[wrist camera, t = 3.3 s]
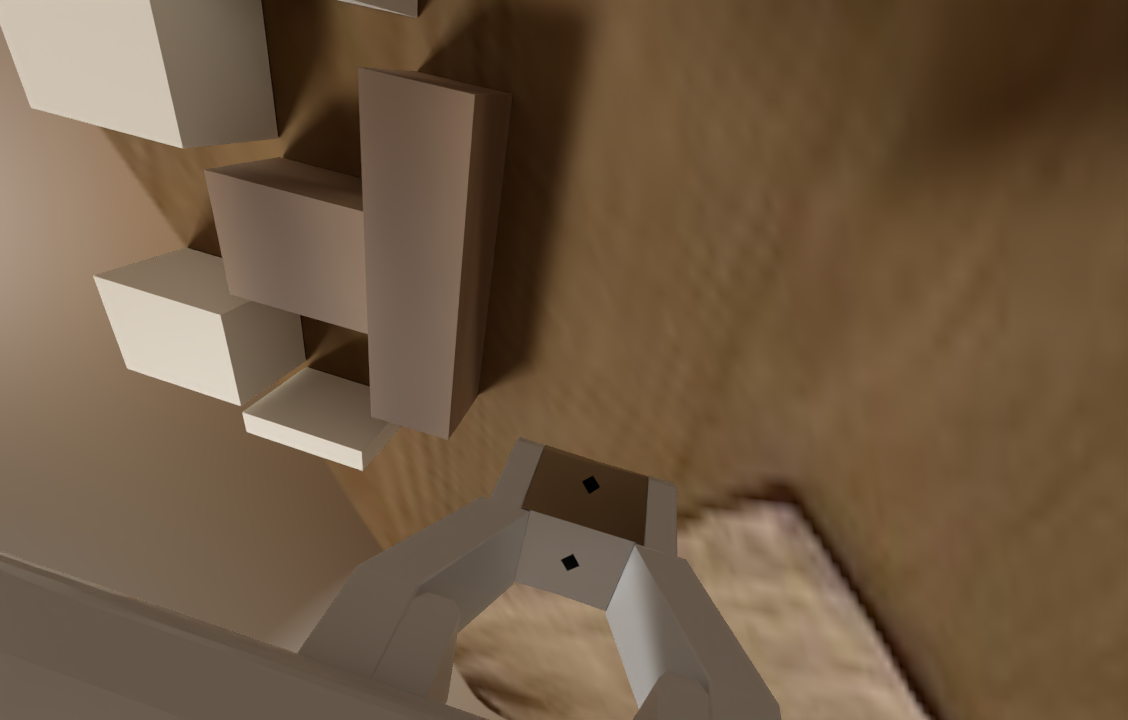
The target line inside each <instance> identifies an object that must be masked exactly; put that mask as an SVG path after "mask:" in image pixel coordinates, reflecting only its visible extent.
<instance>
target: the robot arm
mask: <svg viewBox="0 0 1128 720" xmlns="http://www.w3.org/2000/svg"><path fill="white" fill-rule="evenodd" d="M513 581H514V582H517V583H521V584H524V585H527V586H531V587H534V588H538V589H541V590H545V591H548V592H552V593H555V594H559V595H561V596H564V597H567V598H570V599H573V600H576V601H579V602H581V603H584V604H587V605H590V606H593V607H596V608H598V609H601V610H604V611H606V613H605V614H606V617H607V620H608V623H609V625H610V628H611V631H612V634H613V637H614V640H615V642H616V645H617V648H618V651H619V654H620V657H621V659H622V662H623V665H624V668H625V671H626V674H627V676H628V679H629V682H630V685H631V688H632V691H633V694H634V696H635V699H636V702H637V705H638V708H639V711H638V712H637V714H636V715H635V717H634V719H633V720H781V714H780V708H779V704H778V703H777V701H776V700H775V698H774V696H773V695H772V693H771V692H770V690H769V689H768V687H767V686H766V684H765V682H764V681H763V679H762V678H761V676H760V675H759V673H758V671H757V670H756V668H755V667H754V665H753V664H752V662H751V661H750V659H749V657H748V656H747V654H746V653H745V651H744V650H743V648H742V647H741V645H740V643H739V642H738V640H737V639H736V637H735V636H734V634H733V632H732V631H731V629H730V628H729V626H728V625H727V623H726V622H725V620H724V618H723V617H722V615H721V614H720V612H719V611H718V609H717V607H716V606H715V604H714V603H713V601H712V600H711V598H710V597H709V595H708V593H707V592H706V590H705V589H704V587H703V586H702V584H701V583H700V581H699V579H698V578H697V576H696V575H695V573H694V572H693V570H692V568H691V567H690V565H689V564H688V562H687V561H686V560H685V559H682V558H679V557H677V503H676V486H675V484H674V483H673V482H670V481H666V480H662V479H659V478H655V477H652V476H646V475H643V474H639V473H636V472H632V471H629V470H625V469H622V468H618V467H615V466H611V465H608V464H605V463H601V462H598V461H594V460H591V459H588V458H585V457H582V456H579V455H576V454H572V453H569V452H566V451H563V450H560V449H557V448H554V447H551V446H548V445H546V446H545V445H543V444H540V443H537V442H533V441H530V440H527V439H524V438H521V437H520V438H519V439H518V440H517V441H516V443H515V445H514V447H513V449H512V451H511V454H510V456H509V458H508V460H507V462H506V464H505V466H504V469H503V471H502V473H501V475H500V477H499V479H498V481H497V484H496V486H495V488H494V490H493V492H492V494H491V497H490V499H488V498H485V497H480V498H478V499H476V500H474V501H473V502H471V503H469V504H467V505H466V506H464V507H462V508H460V509H458V510H457V511H455V512H453V513H451V514H449V515H448V516H446V517H444V518H442V519H440V520H439V521H437V522H435V523H433V524H431V525H430V526H428V527H426V528H424V529H422V530H421V531H419V532H417V533H415V534H414V535H412V536H410V537H408V538H406V539H405V540H403V541H401V542H399V543H397V544H396V545H394V546H392V547H390V548H388V549H387V550H385V551H383V552H381V553H380V554H378V555H376V556H374V557H372V558H370V559H369V560H367V561H365V562H363V563H362V564H360V565H358V566H357V567H356V569H355V570H354V571H353V573H352V574H351V576H350V577H349V579H348V580H347V582H346V583H345V585H344V586H343V587H342V589H341V590H340V592H339V593H338V595H337V596H336V598H335V599H334V601H333V602H332V603H331V605H330V606H329V608H328V609H327V611H326V612H325V614H324V615H323V617H322V618H321V619H320V621H319V622H318V624H317V625H316V627H315V628H314V630H313V631H312V632H311V634H310V636H309V637H308V638H307V640H306V641H305V643H304V644H303V646H302V647H301V649H300V650H299V652H298V653H295V652H292V651H289V650H286V649H283V648H280V647H277V646H275V645H272V644H269V643H265V642H263V641H260V640H257V639H254V638H251V637H248V636H245V635H242V634H240V633H236V632H234V631H231V630H228V629H225V628H222V627H219V626H217V625H214V624H211V623H208V622H205V621H202V620H199V619H196V618H194V617H190V616H188V615H185V614H182V613H179V612H176V611H173V610H170V609H167V608H164V607H162V606H159V605H156V604H153V603H150V602H147V601H144V600H141V599H138V598H135V597H133V596H130V595H127V594H124V593H121V592H118V591H115V590H112V589H110V588H107V587H104V586H101V585H98V584H95V583H92V582H89V581H86V580H84V579H81V578H78V577H75V576H72V575H69V574H66V573H63V572H60V571H58V570H55V569H52V568H49V567H46V566H43V565H40V564H37V563H34V562H31V561H28V560H26V559H22V558H20V557H17V556H14V555H11V554H8V553H5V552H2V551H0V720H489V719H486V718H483V717H480V716H477V715H474V714H471V713H468V712H465V711H462V710H460V709H456V708H454V707H450V706H448V705H445V704H446V702H447V699H448V693H449V687H450V680H451V673H452V667H453V660H454V654H455V647H456V641H457V634H458V632H460V631H461V630H462V629H463V628H464V627H465V626H466V625H467V624H469V623H470V622H471V621H472V620H473V619H474V618H475V617H477V616H478V615H479V614H480V613H481V612H482V611H483V610H484V609H486V608H487V607H488V606H489V605H490V604H491V603H492V602H493V601H495V600H496V599H497V598H498V597H499V596H500V595H501V594H502V593H504V592H505V591H506V590H507V589H508V588H509V587H510V586H511V585H513Z"/></svg>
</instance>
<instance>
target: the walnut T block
mask: <svg viewBox="0 0 1128 720" xmlns="http://www.w3.org/2000/svg"><path fill="white" fill-rule="evenodd" d="M358 90H359V116H360V142H361V168H362V178H358V177H354V176H350V175H346V174H342V173H339V172H335V171H331V170H327V169H323V168H319V167H315V166H311V165H308V164H304V163H300V162H296V161H292V160H288V159H284V158H280V157H278V158H272V159H266V160H260V161H254V162H248V163H242V164H235V165H229V166H223V167H217V168H211V169H205V170H204V173H205V177H206V182H207V187H208V192H209V197H210V201H211V206H212V211H213V216H214V221H215V225H216V230H217V235H218V240H219V245H220V249H221V254H222V259H223V264H224V269H225V273H226V278H227V283H228V288H229V293H230V295H233V296H237V297H240V298H244V299H247V300H251V301H254V302H258V303H261V304H265V305H268V306H272V307H275V308H279V309H282V310H286V311H289V312H292V313H296V314H299V315H303V316H306V317H310V318H313V319H317V320H320V321H324V322H327V323H331V324H334V325H338V326H341V327H345V328H348V329H352V330H355V331H359V332H362V333H366V334H368V350H369V376H370V402H371V417H374V418H377V419H381V420H384V421H387V422H391V423H394V424H397V425H400V426H404V427H407V428H410V429H414V430H417V431H420V432H423V433H427V434H430V435H433V436H437V437H440V438H443V439H447V440H449V438H450V437H451V435H452V434H453V432H454V431H455V429H456V428H457V426H458V425H459V423H460V422H461V420H462V419H463V417H464V416H465V414H466V413H467V411H468V410H469V408H470V407H471V405H472V404H473V402H474V401H475V399H476V398H477V396H478V392H479V384H480V375H481V366H482V357H483V349H484V340H485V331H486V323H487V314H488V305H489V297H490V288H491V279H492V271H493V262H494V253H495V245H496V236H497V227H498V218H499V210H500V201H501V192H502V184H503V175H504V166H505V158H506V149H507V140H508V132H509V123H510V114H511V106H512V97H513V94H511V93H506V92H502V91H498V90H494V89H489V88H485V87H481V86H477V85H473V84H468V83H464V82H460V81H456V80H451V79H447V78H443V77H439V76H434V75H430V74H426V73H422V72H417V71H404V70H391V69H377V68H363V67H358Z"/></svg>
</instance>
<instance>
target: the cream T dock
mask: <svg viewBox="0 0 1128 720" xmlns="http://www.w3.org/2000/svg"><path fill="white" fill-rule="evenodd" d="M339 1H344V2H348V3H353V4H357V5H362V6H366V7H371V8H375V9H380V10H384V11H389V12H393V13H398V14H402V15H407V16H411V17H416V18H417V7H418V0H339ZM0 25H1V28H2V30H3V33H4V36H5V39H6V41H7V44H8V47H9V50H10V52H11V55H12V58H13V60H14V63H15V66H16V69H17V71H18V74H19V77H20V79H21V82H22V85H23V87H24V90H25V93H26V96H27V98H28V101H29V104H30V107H31V108H34V109H38V110H42V111H45V112H49V113H53V114H56V115H60V116H64V117H68V118H71V119H75V120H79V121H83V122H87V123H90V124H94V125H97V126H101V127H105V128H108V129H112V130H116V131H120V132H123V133H127V134H131V135H134V136H138V137H142V138H146V139H149V140H153V141H157V142H160V143H164V144H168V145H172V146H175V147H179V148H192V147H202V146H211V145H220V144H230V143H239V142H248V141H258V140H267V139H276V138H278V132H277V124H276V116H275V108H274V99H273V91H272V83H271V75H270V67H269V59H268V51H267V43H266V35H265V27H264V19H263V11H262V2H261V0H0ZM93 277H94V279H95V282H96V285H97V288H98V290H99V293H100V296H101V299H102V301H103V304H104V307H105V310H106V312H107V315H108V318H109V320H110V323H111V326H112V328H113V331H114V334H115V337H116V339H117V342H118V345H119V347H120V350H121V353H122V356H123V358H124V361H125V364H126V366H127V369H130V370H133V371H137V372H139V373H143V374H145V375H148V376H151V377H154V378H158V379H160V380H164V381H166V382H169V383H173V384H176V385H179V386H182V387H185V388H188V389H191V390H194V391H197V392H200V393H203V394H206V395H209V396H212V397H215V398H218V399H221V400H224V401H227V402H230V403H233V404H236V405H239V406H242V405H243V404H245V403H246V402H248V401H249V400H250V399H252V398H253V397H255V396H256V395H257V394H259V393H261V392H262V391H263V390H265V389H266V388H268V387H269V386H271V385H272V384H274V383H275V382H276V381H278V380H279V379H281V378H282V377H284V376H285V375H287V374H288V373H290V372H291V371H292V370H294V369H295V368H297V367H298V366H300V365H301V364H303V363H304V362H305V361H306V358H305V350H304V342H303V334H302V326H301V318H300V315H299V314H296V313H292V312H289V311H286V310H282V309H279V308H275V307H272V306H268V305H265V304H261V303H258V302H254V301H251V300H247V299H244V298H240V297H237V296H233V295H230V293H229V288H228V283H227V278H226V273H225V269H224V264H223V259H222V258H220V257H217V256H213V255H210V254H207V253H203V252H200V251H196V250H193V249H190V248H183V249H180V250H176V251H173V252H170V253H167V254H163V255H160V256H156V257H153V258H150V259H147V260H143V261H140V262H137V263H133V264H130V265H127V266H124V267H120V268H117V269H114V270H110V271H107V272H104V273H101V274H97V275H94V276H93ZM242 413H243V417H244V421H245V426H246V431H247V432H249V433H252V434H255V435H258V436H261V437H263V438H267V439H269V440H272V441H275V442H278V443H281V444H284V445H287V446H290V447H294V448H296V449H299V450H302V451H305V452H309V453H311V454H314V455H317V456H320V457H323V458H326V459H329V460H332V461H335V462H338V463H341V464H344V465H347V466H350V467H353V468H356V469H359V470H362V471H363V470H364V469H365V468H366V467H367V465H368V464H369V463H370V462H371V461H372V460H373V459H374V457H375V456H376V455H377V454H378V453H379V452H380V451H381V449H382V448H383V447H384V446H385V445H386V444H387V443H388V441H389V440H390V439H391V438H392V437H393V436H394V435H395V434H396V432H397V431H398V430H399V429H400V428H401V427H402V426H400V425H397V424H394V423H391V422H387V421H384V420H381V419H377V418H374V417H371V402H370V387H369V386H366V385H363V384H360V383H356V382H353V381H350V380H347V379H344V378H341V377H337V376H334V375H331V374H328V373H325V372H322V371H318V370H315V369H312V368H309V367H306V368H304V369H303V370H301V371H300V372H299V373H297V374H296V375H294V376H293V377H291V378H290V379H289V380H287V381H286V382H284V383H283V384H282V385H280V386H279V387H277V388H276V389H274V390H273V391H272V392H270V393H269V394H267V395H266V396H265V397H263V398H262V399H260V400H259V401H258V402H256V403H255V404H253V405H252V406H250V407H249V408H248V409H246V410H245V411H243V412H242Z"/></svg>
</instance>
